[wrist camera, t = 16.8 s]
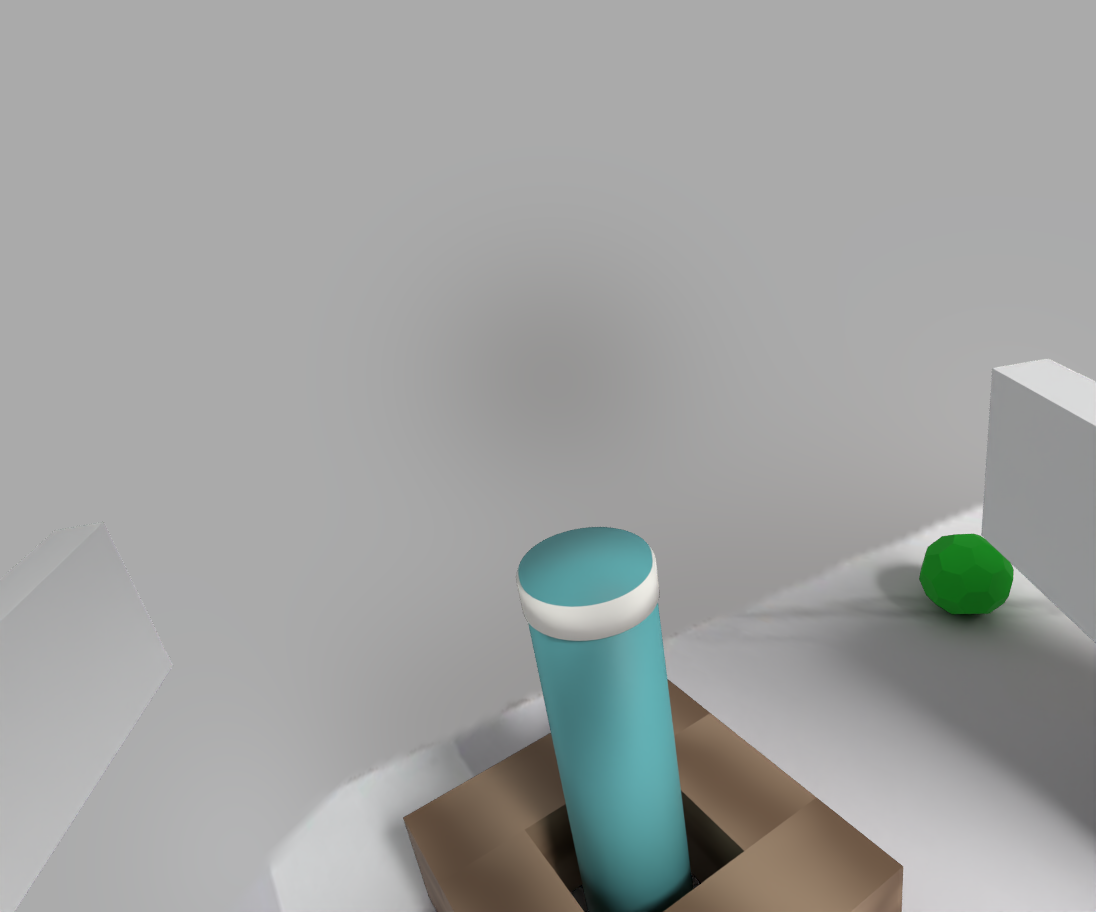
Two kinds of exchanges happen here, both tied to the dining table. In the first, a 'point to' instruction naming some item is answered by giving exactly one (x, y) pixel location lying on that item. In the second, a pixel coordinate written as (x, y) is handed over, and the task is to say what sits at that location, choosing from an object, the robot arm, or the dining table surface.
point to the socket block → (710, 820)
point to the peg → (609, 713)
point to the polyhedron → (966, 574)
